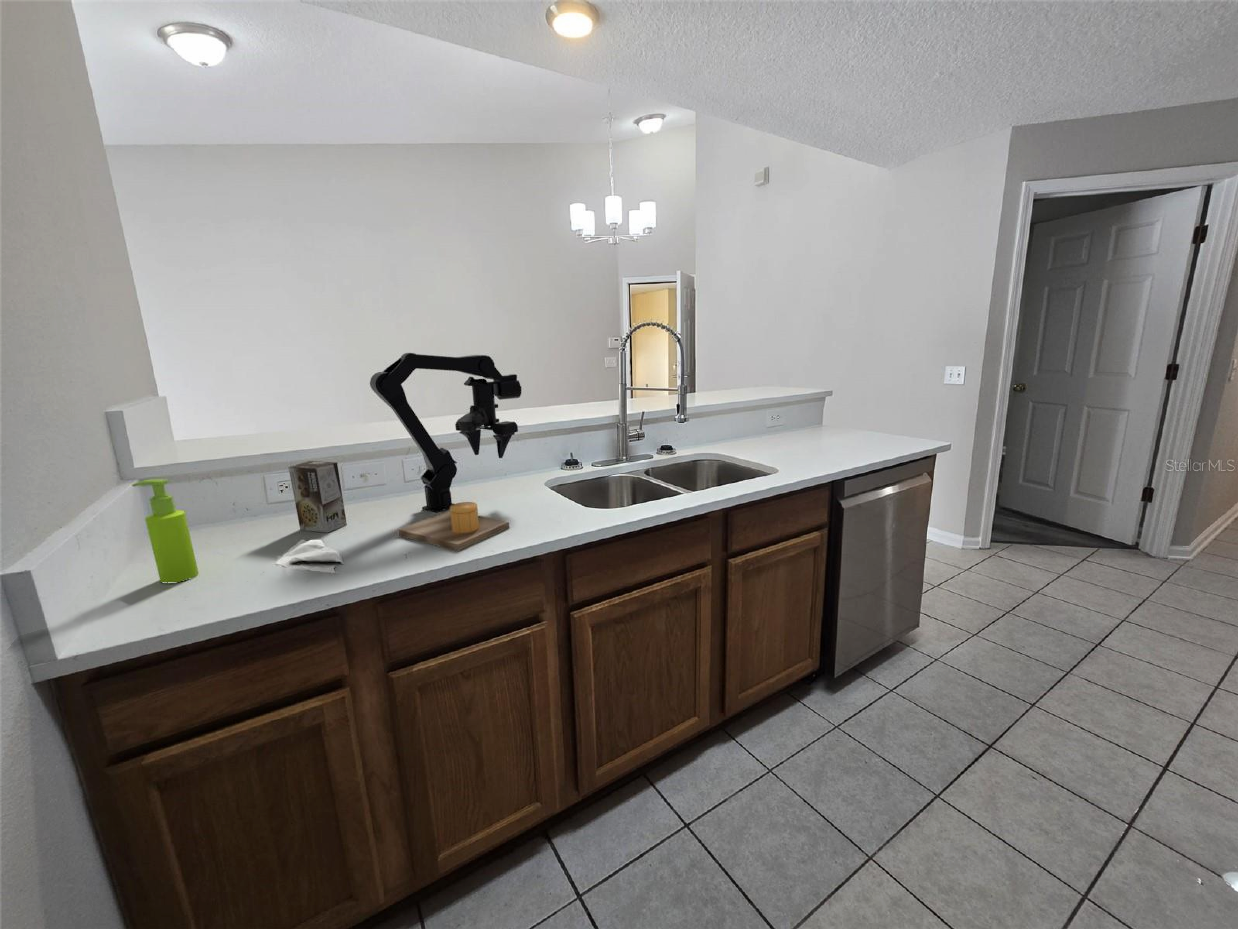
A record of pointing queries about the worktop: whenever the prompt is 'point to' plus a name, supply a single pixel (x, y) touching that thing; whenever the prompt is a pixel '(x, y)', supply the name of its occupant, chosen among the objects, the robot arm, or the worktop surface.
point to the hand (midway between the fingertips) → (488, 456)
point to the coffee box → (318, 496)
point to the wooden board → (442, 535)
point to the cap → (464, 517)
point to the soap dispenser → (169, 536)
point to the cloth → (310, 556)
